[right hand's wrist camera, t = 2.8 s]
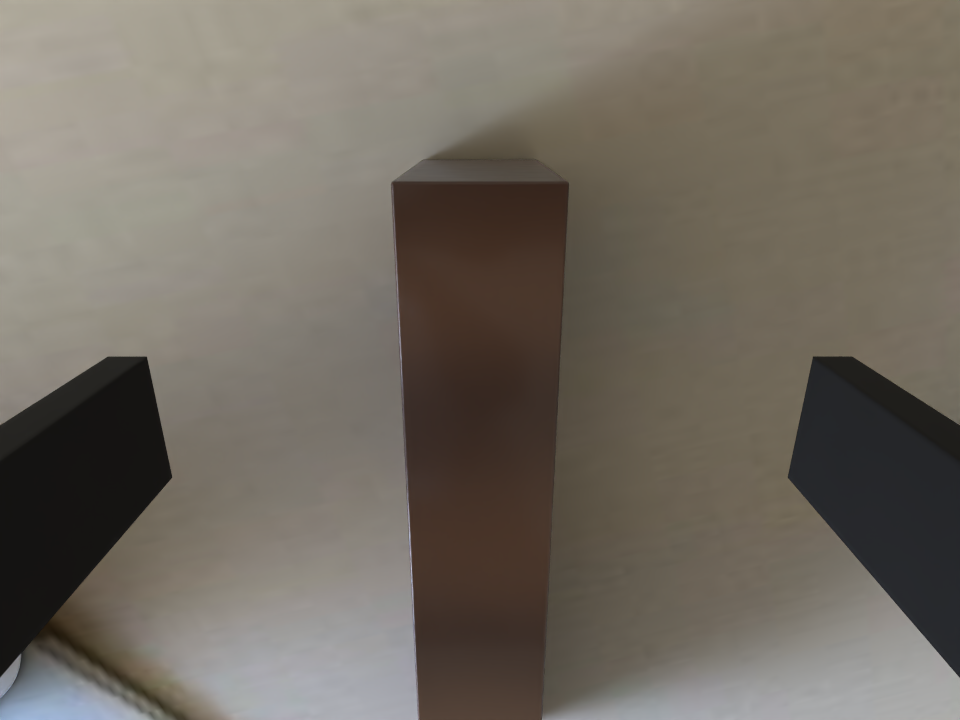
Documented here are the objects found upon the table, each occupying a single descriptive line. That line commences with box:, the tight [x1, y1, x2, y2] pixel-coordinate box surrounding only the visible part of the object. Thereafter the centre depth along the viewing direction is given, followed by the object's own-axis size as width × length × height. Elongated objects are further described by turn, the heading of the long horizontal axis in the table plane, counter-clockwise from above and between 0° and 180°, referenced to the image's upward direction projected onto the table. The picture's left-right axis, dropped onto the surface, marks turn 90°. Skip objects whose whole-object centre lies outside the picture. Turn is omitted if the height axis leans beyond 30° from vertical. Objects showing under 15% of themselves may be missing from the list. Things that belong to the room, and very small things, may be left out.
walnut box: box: [391, 160, 569, 720], centre depth 28 cm, size 34×5×10 cm, turn 0°
